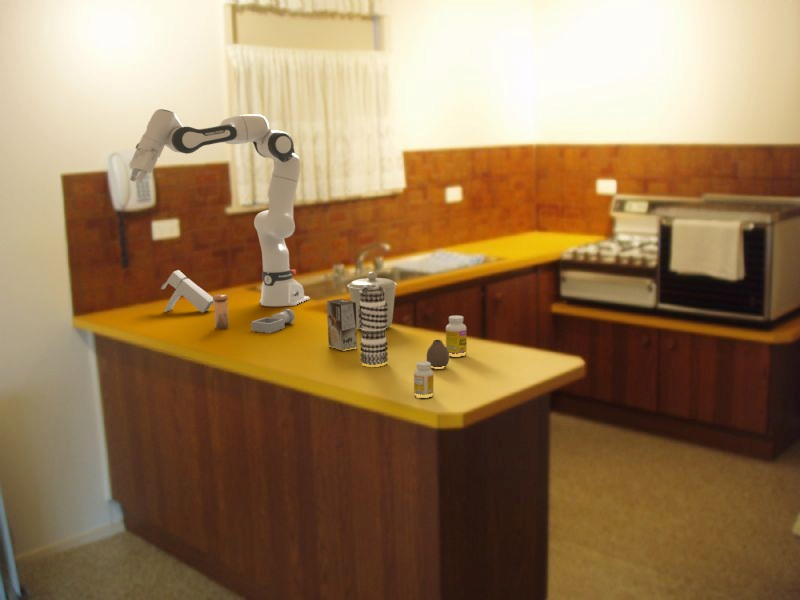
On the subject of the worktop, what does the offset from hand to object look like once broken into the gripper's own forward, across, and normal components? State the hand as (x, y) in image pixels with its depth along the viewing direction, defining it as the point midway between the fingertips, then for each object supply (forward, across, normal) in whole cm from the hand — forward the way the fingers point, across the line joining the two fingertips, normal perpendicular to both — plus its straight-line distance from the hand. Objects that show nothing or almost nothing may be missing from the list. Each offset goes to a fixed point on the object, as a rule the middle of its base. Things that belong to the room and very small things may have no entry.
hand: (135, 181), depth 357 cm
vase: (+21, -125, -75) cm, 148 cm away
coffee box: (+27, -85, -64) cm, 110 cm away
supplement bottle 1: (+30, -148, -58) cm, 162 cm away
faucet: (+38, +8, -44) cm, 59 cm away
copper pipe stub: (+38, -31, -44) cm, 66 cm away
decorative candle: (+28, -110, -63) cm, 130 cm away
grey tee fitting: (+30, -42, -58) cm, 78 cm away
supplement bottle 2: (+15, -116, -87) cm, 145 cm away
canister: (+16, -65, -84) cm, 108 cm away
